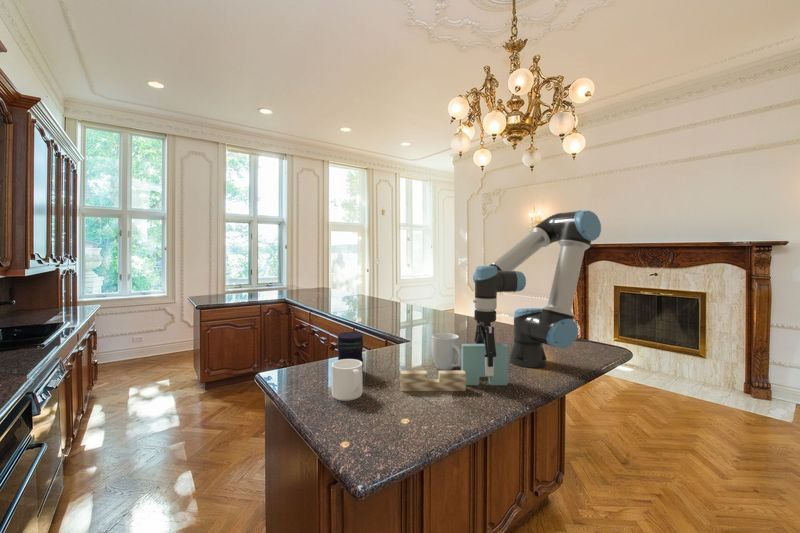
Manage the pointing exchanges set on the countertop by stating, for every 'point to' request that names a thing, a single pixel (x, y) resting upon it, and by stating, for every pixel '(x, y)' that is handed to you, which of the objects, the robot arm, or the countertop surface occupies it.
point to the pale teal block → (476, 363)
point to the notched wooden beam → (433, 381)
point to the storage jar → (350, 346)
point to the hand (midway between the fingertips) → (484, 368)
